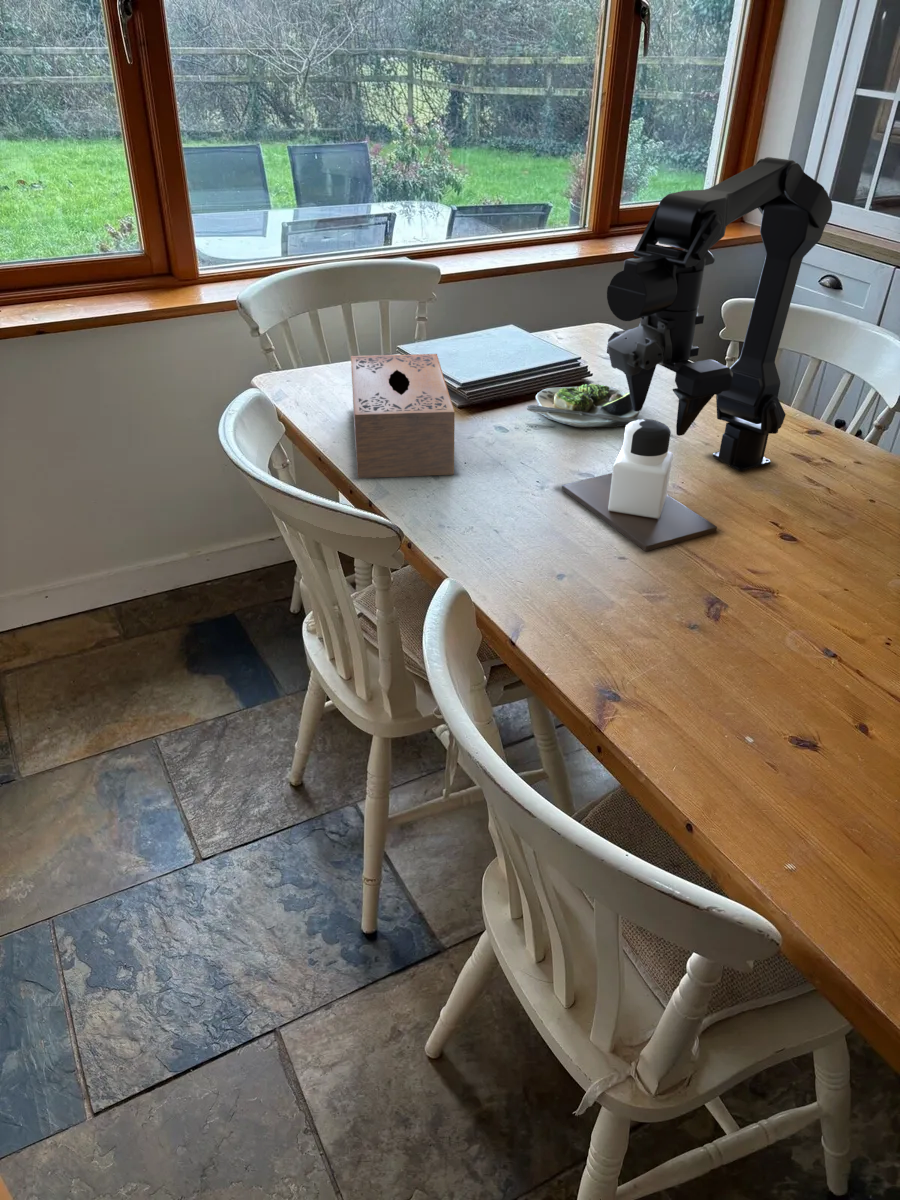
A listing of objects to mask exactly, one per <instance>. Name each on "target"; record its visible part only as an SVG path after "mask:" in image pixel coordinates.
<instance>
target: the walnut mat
mask: <svg viewBox="0 0 900 1200" xmlns="http://www.w3.org/2000/svg"><path fill="white" fill-rule="evenodd" d="M612 473H613V472H611V473H606V474H604V475H603V474H602V475H598V476H594V477H590V478H586V479H581V480H577V481H572V482H569V483H564V484H561V491H563V492H564V493H565V494H567V495H568V496H569V497H571V498H572V499H574V500H575V501H576V502H577V503H579V504H580V505H582V506H583V507H585V508H586V509H587V510H588V511H590V512H592V514H594V515H595V516H597V518H600V519H601V520H602V521H603V522H605V523H606V524H608V525H609V526H611V527H612V528H613V529H614V530H616V531H617V532H619V533H620V534H621V535H623V537H626V538H627V539H628V540H629V541H630V542H632V543H634V544H635V545H636V546H638V547H639V548H640V549H642V550H643V551H644V552H649V551H652V550H656V549H660V548H662V547H666V546H670V545H673V544H677V543H681V542H684V541H688V540H691V539H695V538H699V537H702V536H706V535H710V534H714V533H716V532H717V531H718V526H717V525H715V524H714V523H712V522H711V521H709V520H708V519H706V518H704V517H703V516H702V515H700V514H698V513H697V512H695V511H694V510H692V509H690V508H689V507H687V506H686V505H684V504H682V503H681V502H680V501H679V500H676V499H675V498H674V497H672V496H670V495H669V494H667V496H666V499H665V502H664V506H663V509H662V512H661V515H660V517H659V518H658V519H655V518H649V517H643V516H636V515H630V514H624V513H618V512H612V511H609V510H608V506H609V498H610V489H611V481H612Z"/></svg>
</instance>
